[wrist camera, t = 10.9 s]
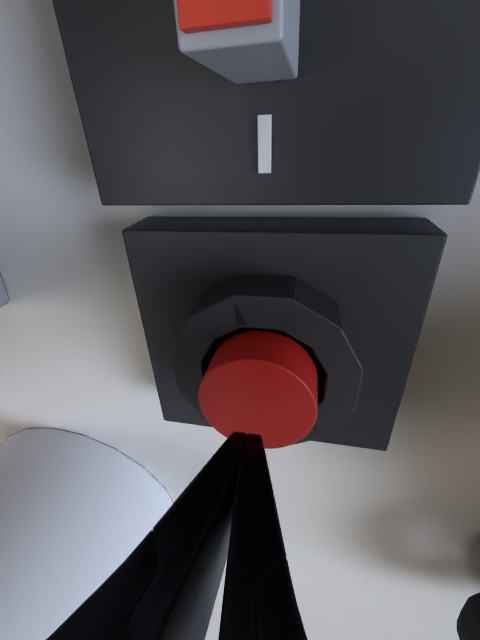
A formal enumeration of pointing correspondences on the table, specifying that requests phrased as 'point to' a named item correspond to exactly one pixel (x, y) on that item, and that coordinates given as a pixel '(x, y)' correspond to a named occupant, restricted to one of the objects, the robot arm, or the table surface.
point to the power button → (261, 388)
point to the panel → (282, 107)
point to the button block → (289, 306)
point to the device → (470, 619)
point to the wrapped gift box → (2, 293)
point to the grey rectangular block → (241, 37)
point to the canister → (65, 524)
